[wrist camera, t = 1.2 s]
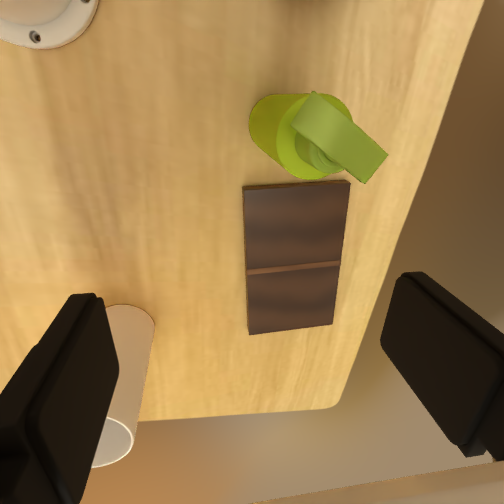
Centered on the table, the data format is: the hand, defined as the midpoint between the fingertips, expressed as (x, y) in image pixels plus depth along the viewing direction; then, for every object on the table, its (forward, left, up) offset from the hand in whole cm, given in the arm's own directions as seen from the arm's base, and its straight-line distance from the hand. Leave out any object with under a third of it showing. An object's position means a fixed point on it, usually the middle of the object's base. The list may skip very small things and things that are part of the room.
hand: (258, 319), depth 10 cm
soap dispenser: (-4, +6, -28) cm, 29 cm away
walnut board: (+14, +9, -28) cm, 32 cm away
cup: (+22, -15, -28) cm, 38 cm away
